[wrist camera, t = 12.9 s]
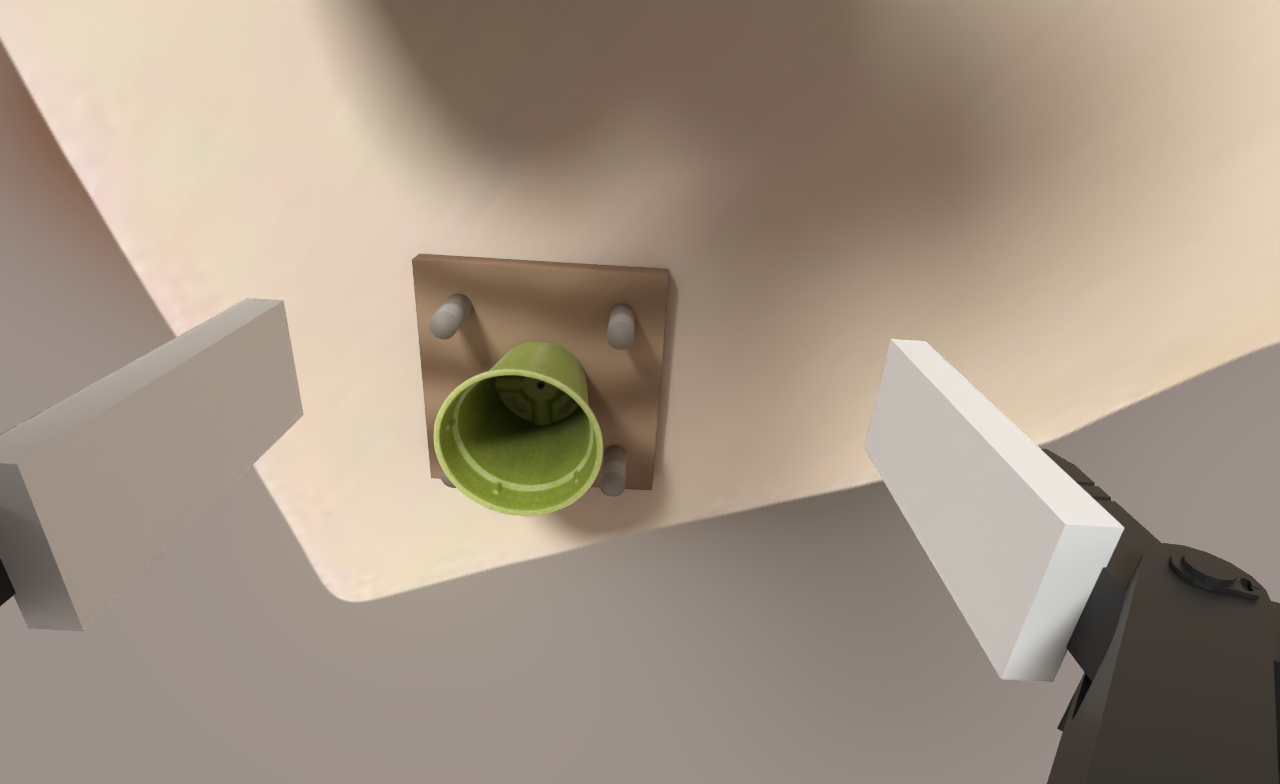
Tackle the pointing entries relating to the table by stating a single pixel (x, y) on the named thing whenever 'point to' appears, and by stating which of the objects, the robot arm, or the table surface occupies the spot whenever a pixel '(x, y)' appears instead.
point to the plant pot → (521, 433)
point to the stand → (551, 313)
